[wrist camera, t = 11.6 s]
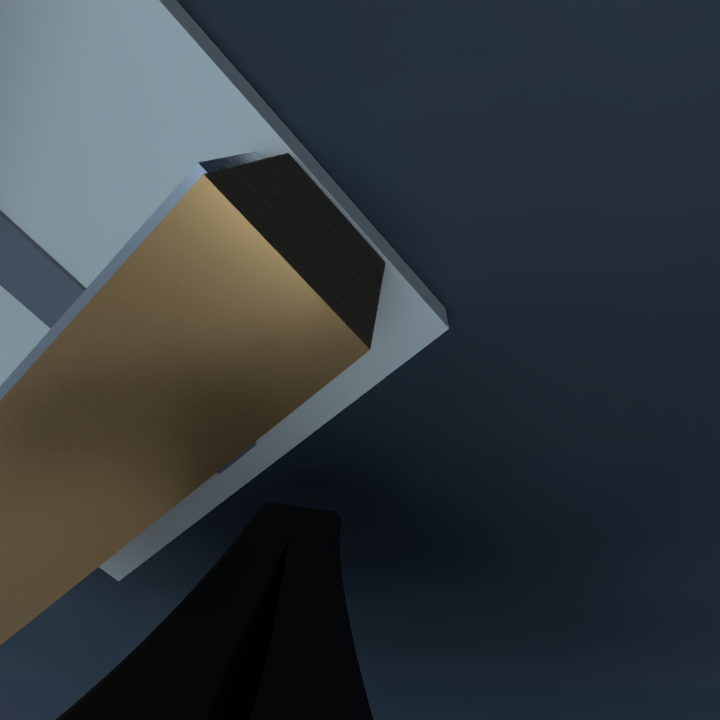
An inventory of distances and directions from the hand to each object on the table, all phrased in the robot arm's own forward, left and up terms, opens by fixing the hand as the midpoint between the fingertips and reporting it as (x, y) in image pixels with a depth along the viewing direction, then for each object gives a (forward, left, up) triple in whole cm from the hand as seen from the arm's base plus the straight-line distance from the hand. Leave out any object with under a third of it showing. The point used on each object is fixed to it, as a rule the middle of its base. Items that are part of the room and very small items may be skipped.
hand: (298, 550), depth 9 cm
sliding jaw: (+4, 0, 0) cm, 4 cm away
